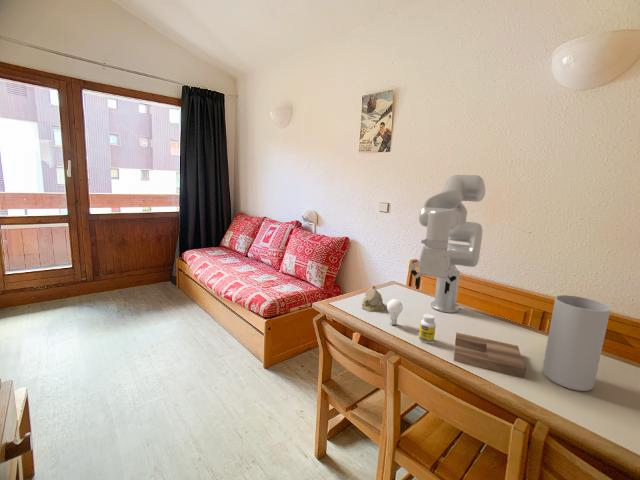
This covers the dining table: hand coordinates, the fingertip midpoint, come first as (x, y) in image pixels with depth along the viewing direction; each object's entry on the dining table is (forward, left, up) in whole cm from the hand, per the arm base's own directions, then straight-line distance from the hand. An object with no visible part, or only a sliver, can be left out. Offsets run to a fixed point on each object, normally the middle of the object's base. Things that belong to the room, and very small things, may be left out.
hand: (431, 290), depth 113 cm
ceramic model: (-23, -27, -20) cm, 41 cm away
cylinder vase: (+4, +42, -20) cm, 47 cm away
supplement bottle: (0, 0, -20) cm, 20 cm away
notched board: (+2, +20, -20) cm, 28 cm away
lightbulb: (-7, -14, -20) cm, 25 cm away
